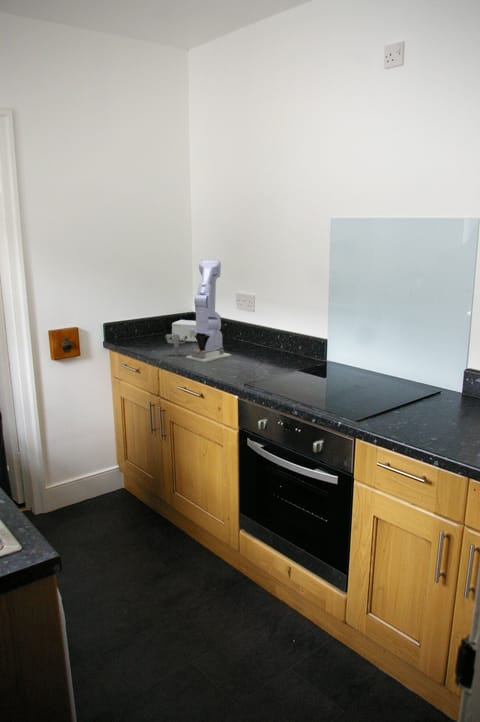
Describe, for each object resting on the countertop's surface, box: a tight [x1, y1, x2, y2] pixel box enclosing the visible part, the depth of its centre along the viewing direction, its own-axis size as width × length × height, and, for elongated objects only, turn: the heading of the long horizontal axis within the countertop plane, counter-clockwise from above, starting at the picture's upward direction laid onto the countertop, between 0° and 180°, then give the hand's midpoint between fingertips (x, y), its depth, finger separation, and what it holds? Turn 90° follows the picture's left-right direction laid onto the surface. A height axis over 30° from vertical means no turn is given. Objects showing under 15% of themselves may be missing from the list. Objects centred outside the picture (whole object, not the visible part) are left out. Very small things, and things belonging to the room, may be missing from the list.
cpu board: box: [186, 348, 232, 363], centre depth 275 cm, size 18×12×4 cm, turn 138°
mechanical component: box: [164, 333, 187, 357], centre depth 276 cm, size 3×10×10 cm, turn 89°
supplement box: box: [171, 319, 198, 343], centre depth 318 cm, size 17×13×9 cm
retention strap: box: [193, 346, 223, 353], centre depth 274 cm, size 14×4×1 cm, turn 138°
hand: (202, 349), depth 271 cm, fingers closed
